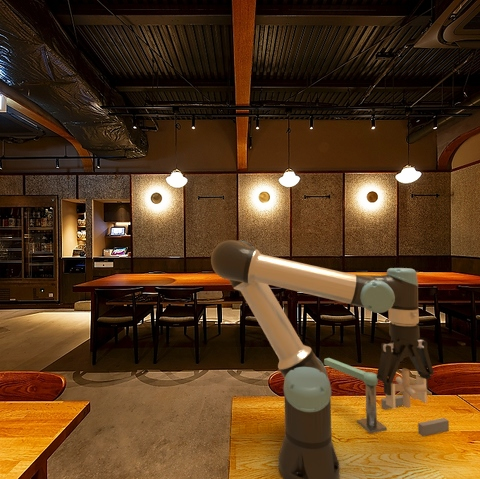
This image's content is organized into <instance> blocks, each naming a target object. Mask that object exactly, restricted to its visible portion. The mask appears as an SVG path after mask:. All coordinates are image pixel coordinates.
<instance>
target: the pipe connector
mask: <svg viewBox="0 0 480 479" xmlns="http://www.w3.org/2000/svg"><path fill="white" fill-rule="evenodd" d="M401 374H402V375H401V377H400V376H396V378H395V382H396V383H394V384H395V392H402V395H403V406H402V407H404V408H407V409H408V408H410V409H411V406H412V404H411V398H412V399H413V400H415V401H416V400H419V399H418V397H419V396H418V394H417V392H427V393H428V388H426V386H425V385H416V383H415V384H414V383H413V384H411V382H410V381H411V380H410V369H408V368H405V367H403V368H401Z"/></svg>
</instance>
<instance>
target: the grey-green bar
mask: <svg viewBox="0 0 480 479" xmlns="http://www.w3.org/2000/svg"><path fill="white" fill-rule="evenodd" d="M323 365H324V366H326V367H329V368H331V369H334V370H336V371H338V372H341V373H343V374H344V375H345V374H346V375H348V376H351V377H352V378H355V379H358V380H359V381H362V382H363V384H365V385H366V384H367V385H371V386H375V385H376V386H377V385H378V379H377V374H376V373H374V372H372V371H364V370H361V369H358V368H356V367H355V366H351V365H349V364H346V363H343V362H341V361H339V360H336V359H334V358H330V357H327V358H324V359H323Z"/></svg>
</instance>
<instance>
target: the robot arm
mask: <svg viewBox="0 0 480 479" xmlns="http://www.w3.org/2000/svg"><path fill="white" fill-rule="evenodd" d="M210 256H211V257H210V262H211V263H210V264H211V267H212V269H213V271H214V273H215V274H217V276H219V277H221V279H224V280H228V281H229V283H230V285H231V286H232V288H233V289H234V290H235V291H238V292H240V293H241V295H242V296H243V298H244V300H245V301H246V303H247V305H248V306H249V309H250V310H251V312H252V314H253V315H254V318H255V319H256V321H257V322H258V325H259V326H260V328H261V329H262V331H263V333H264V335H265V337H266V338H267V341H268V342H269V345H270V346H271V347H272V349H273V351H274V353H275V354H276V356H277V358H278V361H279V362H278V364H277V368H278V369H279V372H280V374H281V375H282V377H283V379H284V382H283V394H284V395H283V396H284V437H283V440H282V444H281V447H280V450H279V454H278V470H279V472H280V475H281V476H282V478H283V479H340V477H341V476H340V473H341V472H340V462H339V459H338V456H337V453H336V449H335V446H334V444H333V440H332V438H333V437H332V405H331V402H332V400H331V398H332V387H331V382H330V379H329V377H328V372H327V369H326V367H325V365H324V363H323V362H322V361H321V360H320V359H319V357H317V356H316V354H315V352H313V349H312V348H311V347H310V346H308V345H305V344H303V342H302V341H301V339H300V337H299V336H298V334H297V331H296V330H295V328H294V327H293V325H292V323H291V321H290V319H289V318H288V316H287V315H286V313H285V312H284V310H283V308H282V306H281V305H280V303H279V301H278V299H277V297H276V295H275V294H274V292H273V291H272V289H271V287H270V286H274V287H277V288H282V289H286V290H291V291H295V292H299V293H303V294H307V295H312V296H316V297H319V298H324V299H329V300H333V301H336V302H341V303H345V304H349V305H353V306H356V307H360V308H361V307H362V308H364V309H366V310H368V312H373V313H376V314H382V313H386V312H388V321H389V323H388V330H389V331H388V332H389V333H388V334H389V337H391V339H390V342H389V343H384V342H382V343H381V346H380V347H381V353H380V357H379V358H380V359H379V363H378V369H377V374H376V375H377V380H378V381H380V382H383V393H384V394H385V398H386V404H387V405H388V406H390V407H391V409H393V410H394V409H395V410H396V409H397V407H396V403H395V396H396V391H395V384H396V383H394V382H393V381H394V380H395V379H394V378H395V377H396V374H397V371H398V369H399V366H400V364H401V362H403V361H404V359H406V358H407V357H409V359H410V361H411V362H412V364H413V366H414V369H415V370H416V372H417V375H415V381H416V382H415V384H416V385H425V386H426V388H427V389H428V387H429V386H428V380H431V379H432V376H433V375H434V373H435V372H434V369H433V365H432V361H431V359H430V354H429V350H428V341H427V340H424V339H420V325H419V322H420V320H419V319H420V316H419V282H418V274H417V271H416V270H415V269H413V268H411V267H410V268H407V267H405V268H404V267H394V268H393V267H390V268H388V269H387V270H386V274H383V275H382V274H381V275H377V274H376V275H370V274H369V275H367V274H365V275H364V274H362V275H361V274H352V273H347V272H344V271H338V270H334V269H330V268H325V267H322V266H321V267H320V266H316V265H311V264H307V263H302V262H299V261H294V260H289V259H285V258H282V257H280V258H279V257H276V256H271V255H267V254H262V253H261V252H260V250H259V249H256V248H255V247H254V246H252V244H250V243H249V242H247V241H245V240H233V239H227V240H224V241H222V242H220V243H218V244H217V245H216V247H214V248H213V250H212V252H211V255H210ZM269 285H270V286H269ZM416 393H417V394H418V396H419V397H418V399H417V400H419V401H421V402H423V403H424V404H426V403H428V395H427V394H428V391H427V392H416Z"/></svg>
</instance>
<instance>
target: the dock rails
mask: <svg viewBox="0 0 480 479" xmlns="http://www.w3.org/2000/svg"><path fill="white" fill-rule="evenodd" d="M380 400H381V403H380V404H381V409H383V410H390V409H389V408H391V407H390V406H388V405H387V404H386V397H384V398H380ZM395 403H396V408H399V407H398V406H402V405H403V396H400V395H395ZM402 407H403V406H402ZM391 409H392V408H391ZM449 422H450V421H449V420H448V419H447V418H445V417H442V418H437V419H433V420H427V421H423V422H418V423H417V428H418V429H417V430H418V433H417V434H419V435H421V437H426V436H429V435H430V436H431V435H435V434H439V433H443V432H449V429H450V425H449Z"/></svg>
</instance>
